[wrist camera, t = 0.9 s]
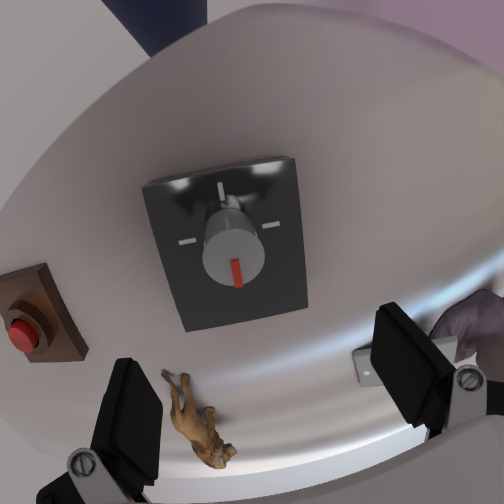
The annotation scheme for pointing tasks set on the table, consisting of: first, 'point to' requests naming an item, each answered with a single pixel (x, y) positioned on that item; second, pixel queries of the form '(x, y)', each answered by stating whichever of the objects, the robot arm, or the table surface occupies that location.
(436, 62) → the table surface
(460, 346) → the figurine
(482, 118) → the table surface
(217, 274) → the knob
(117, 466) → the robot arm
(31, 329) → the button
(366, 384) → the light switch
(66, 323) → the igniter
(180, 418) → the lion figurine
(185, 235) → the dark grey dial base
